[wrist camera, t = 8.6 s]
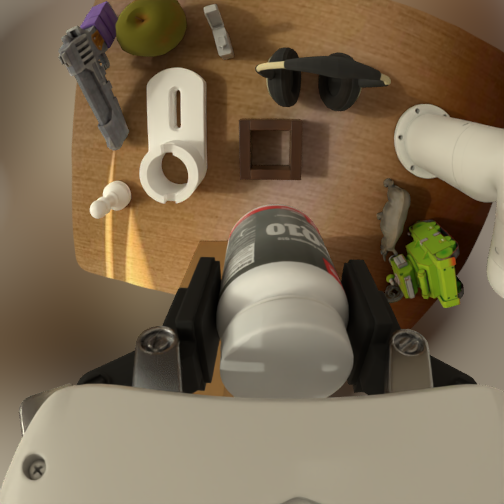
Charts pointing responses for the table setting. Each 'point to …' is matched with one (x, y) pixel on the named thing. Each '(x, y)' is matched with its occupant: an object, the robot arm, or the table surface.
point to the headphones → (330, 78)
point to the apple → (151, 27)
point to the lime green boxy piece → (428, 265)
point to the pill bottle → (281, 310)
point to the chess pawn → (111, 199)
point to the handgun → (96, 69)
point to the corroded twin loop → (390, 295)
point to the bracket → (175, 133)
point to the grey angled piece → (219, 32)
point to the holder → (270, 171)
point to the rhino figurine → (393, 216)
